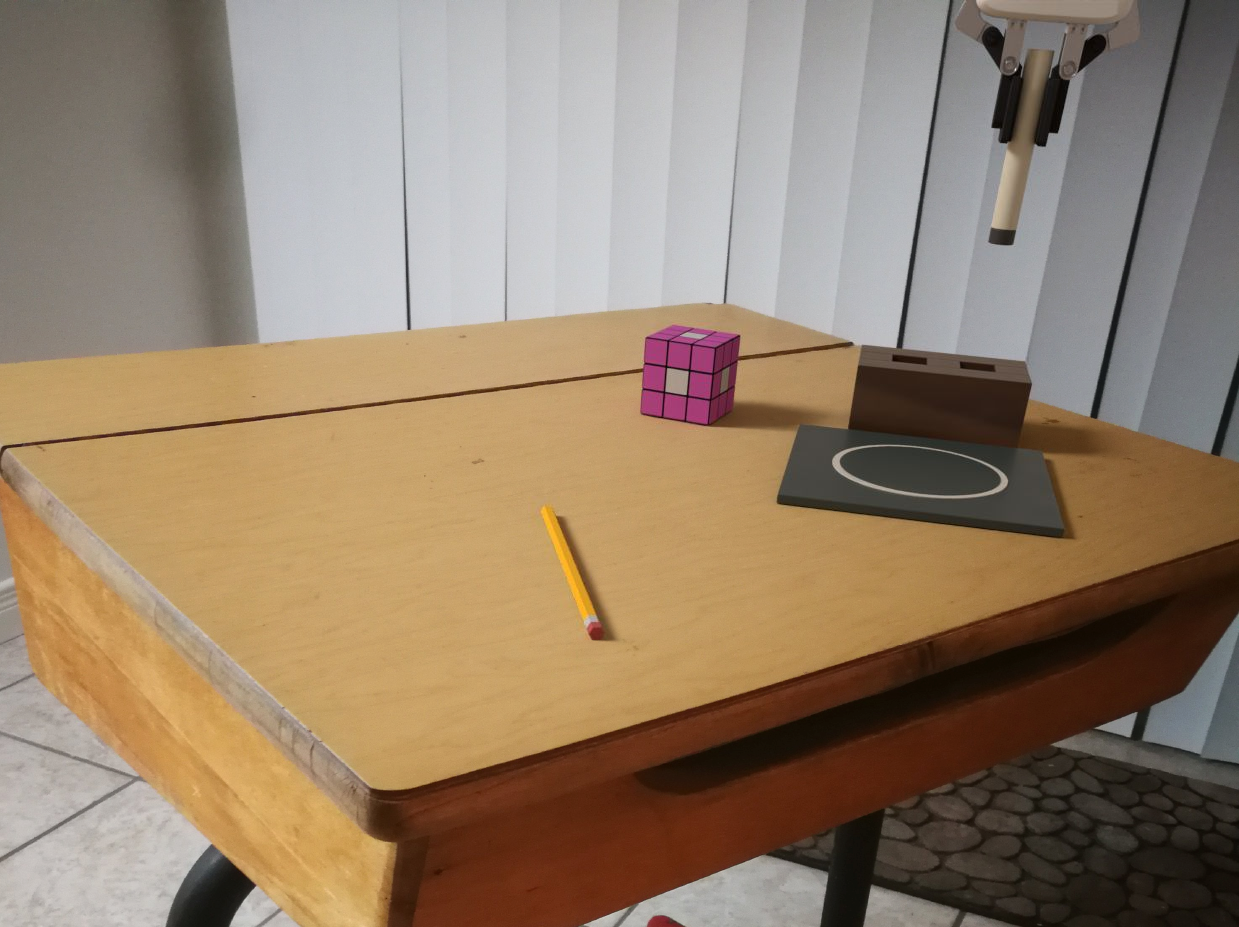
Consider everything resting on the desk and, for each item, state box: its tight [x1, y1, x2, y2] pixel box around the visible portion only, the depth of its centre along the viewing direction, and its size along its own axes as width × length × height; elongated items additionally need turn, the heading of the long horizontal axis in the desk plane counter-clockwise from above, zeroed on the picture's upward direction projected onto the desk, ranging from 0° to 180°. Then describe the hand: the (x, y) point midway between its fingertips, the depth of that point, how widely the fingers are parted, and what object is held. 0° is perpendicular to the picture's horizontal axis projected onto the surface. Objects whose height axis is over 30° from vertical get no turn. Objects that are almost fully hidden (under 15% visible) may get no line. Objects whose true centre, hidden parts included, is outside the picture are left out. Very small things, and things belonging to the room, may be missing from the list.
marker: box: [987, 48, 1055, 247], centre depth 90 cm, size 2×2×12 cm
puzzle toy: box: [639, 324, 741, 426], centre depth 99 cm, size 6×6×6 cm
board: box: [776, 423, 1065, 538], centre depth 89 cm, size 18×18×1 cm
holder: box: [847, 344, 1033, 448], centre depth 99 cm, size 8×13×5 cm, turn 78°
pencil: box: [540, 505, 605, 641], centre depth 71 cm, size 1×18×1 cm, turn 10°
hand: (1021, 141), depth 89 cm, fingers closed on marker, 1 cm apart
